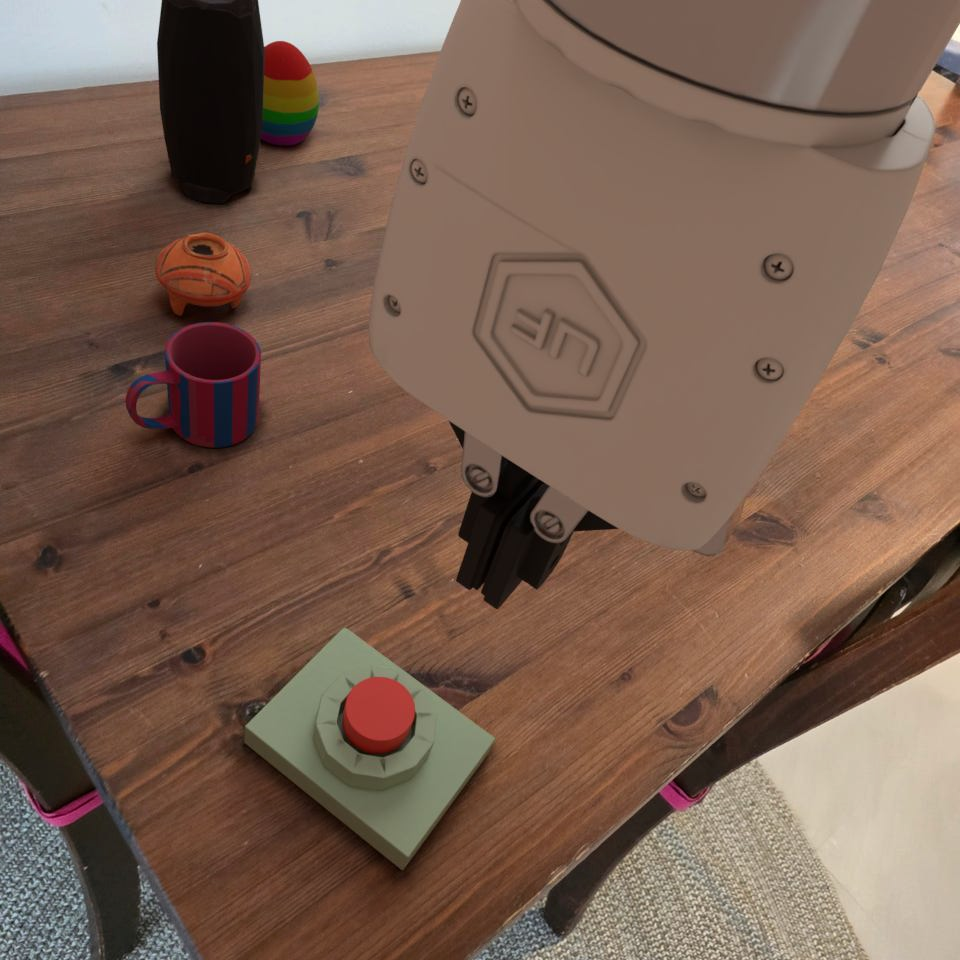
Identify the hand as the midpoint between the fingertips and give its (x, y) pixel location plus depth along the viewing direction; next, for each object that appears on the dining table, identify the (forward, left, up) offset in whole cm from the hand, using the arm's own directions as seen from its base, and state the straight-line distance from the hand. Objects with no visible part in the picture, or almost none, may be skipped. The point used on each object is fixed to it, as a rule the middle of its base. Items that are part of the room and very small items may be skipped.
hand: (501, 568), depth 29 cm
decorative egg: (+58, -55, -29) cm, 85 cm away
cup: (+32, -17, -29) cm, 47 cm away
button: (+5, -5, -26) cm, 26 cm away
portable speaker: (+55, -42, -29) cm, 75 cm away
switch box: (+5, -5, -29) cm, 30 cm away
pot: (+42, -28, -29) cm, 58 cm away
